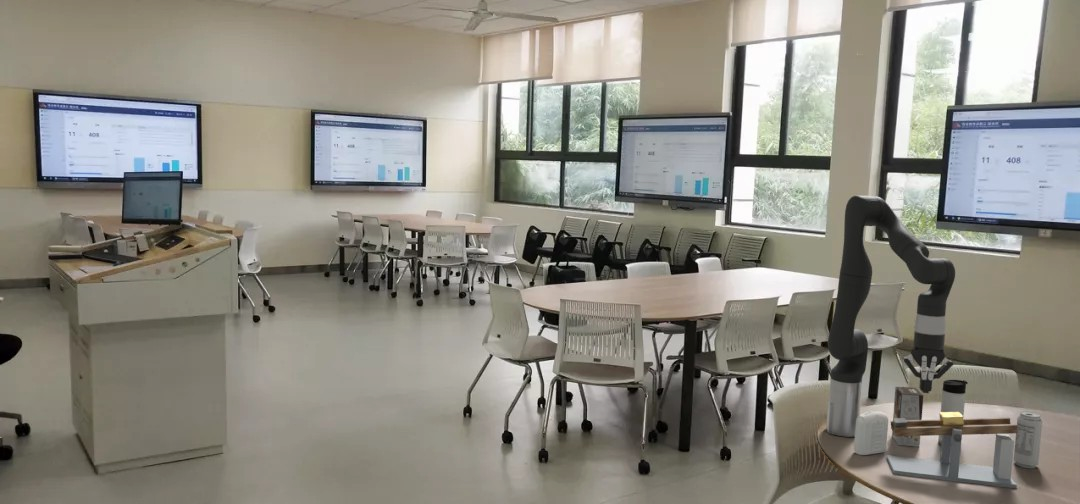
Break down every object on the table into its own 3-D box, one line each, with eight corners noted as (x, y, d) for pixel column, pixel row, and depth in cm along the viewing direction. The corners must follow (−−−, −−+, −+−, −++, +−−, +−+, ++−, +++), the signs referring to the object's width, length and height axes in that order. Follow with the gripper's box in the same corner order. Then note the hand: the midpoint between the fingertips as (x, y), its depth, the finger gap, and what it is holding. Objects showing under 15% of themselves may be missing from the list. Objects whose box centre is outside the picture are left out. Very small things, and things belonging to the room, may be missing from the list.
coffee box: (920, 447, 235) (924, 395, 233) (897, 445, 236) (901, 394, 234) (912, 437, 243) (916, 387, 242) (890, 435, 245) (894, 385, 243)
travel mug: (965, 448, 234) (970, 384, 232) (941, 446, 236) (946, 382, 234) (958, 441, 240) (963, 378, 238) (935, 439, 242) (940, 376, 240)
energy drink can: (1043, 468, 220) (1048, 416, 218) (1026, 469, 218) (1031, 418, 217) (1024, 460, 226) (1029, 410, 224) (1008, 462, 224) (1012, 411, 223)
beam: (895, 439, 214) (894, 424, 214) (891, 431, 221) (890, 416, 221) (1017, 437, 206) (1016, 420, 206) (1009, 428, 213) (1008, 413, 212)
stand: (893, 474, 213) (897, 425, 211) (886, 458, 225) (889, 411, 223) (1017, 489, 205) (1021, 437, 203) (1002, 471, 217) (1006, 422, 215)
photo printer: (876, 447, 233) (879, 407, 232) (888, 452, 230) (891, 411, 228) (851, 452, 229) (854, 411, 228) (862, 457, 225) (865, 415, 224)
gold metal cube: (944, 430, 212) (942, 417, 212) (940, 425, 216) (939, 412, 216) (964, 429, 211) (963, 416, 210) (960, 424, 215) (959, 411, 215)
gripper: (906, 331, 211) (901, 393, 213) (959, 335, 207) (954, 398, 209) (901, 326, 218) (896, 386, 220) (952, 329, 215) (948, 391, 216)
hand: (925, 392), depth 214 cm, fingers closed
